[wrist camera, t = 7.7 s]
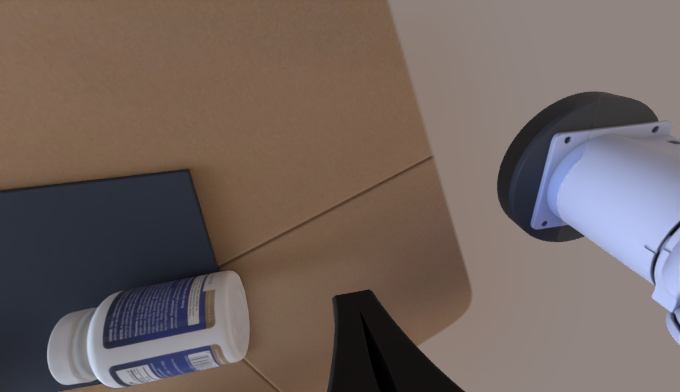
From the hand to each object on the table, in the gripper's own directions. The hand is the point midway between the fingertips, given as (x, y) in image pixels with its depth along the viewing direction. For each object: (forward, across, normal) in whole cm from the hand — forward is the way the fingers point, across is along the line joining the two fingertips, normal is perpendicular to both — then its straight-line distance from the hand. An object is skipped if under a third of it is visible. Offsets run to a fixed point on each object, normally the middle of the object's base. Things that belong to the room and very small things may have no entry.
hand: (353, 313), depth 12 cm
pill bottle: (+7, +5, +6) cm, 11 cm away
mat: (+11, +17, +6) cm, 21 cm away
